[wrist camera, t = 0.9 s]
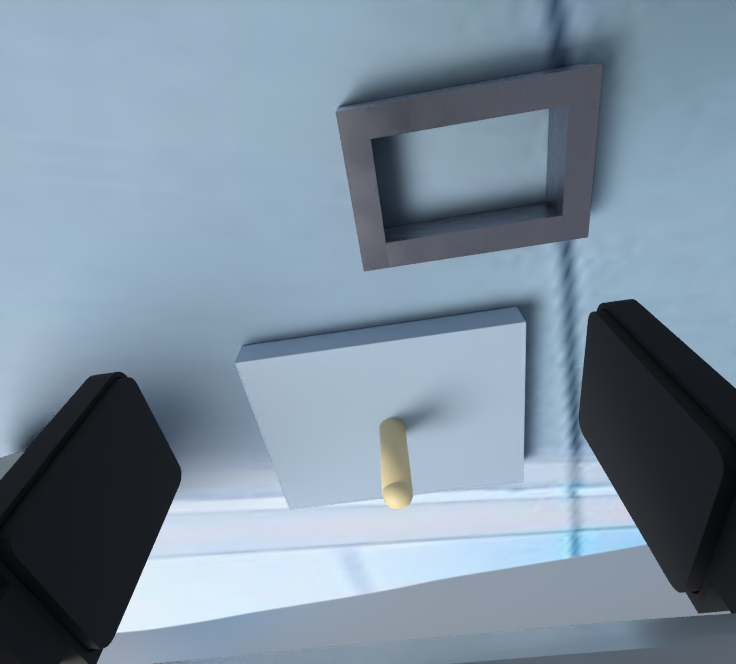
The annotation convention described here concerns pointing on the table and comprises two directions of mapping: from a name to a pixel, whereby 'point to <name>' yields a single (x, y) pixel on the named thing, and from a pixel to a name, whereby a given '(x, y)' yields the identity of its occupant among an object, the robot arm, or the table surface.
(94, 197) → the table surface
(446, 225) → the steel link
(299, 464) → the board
